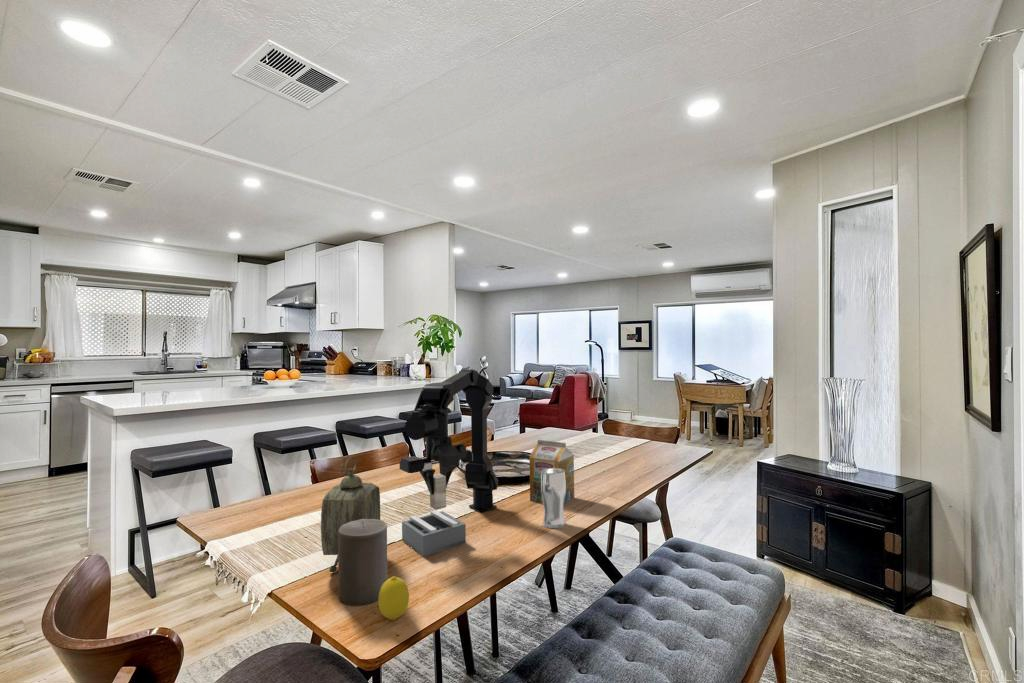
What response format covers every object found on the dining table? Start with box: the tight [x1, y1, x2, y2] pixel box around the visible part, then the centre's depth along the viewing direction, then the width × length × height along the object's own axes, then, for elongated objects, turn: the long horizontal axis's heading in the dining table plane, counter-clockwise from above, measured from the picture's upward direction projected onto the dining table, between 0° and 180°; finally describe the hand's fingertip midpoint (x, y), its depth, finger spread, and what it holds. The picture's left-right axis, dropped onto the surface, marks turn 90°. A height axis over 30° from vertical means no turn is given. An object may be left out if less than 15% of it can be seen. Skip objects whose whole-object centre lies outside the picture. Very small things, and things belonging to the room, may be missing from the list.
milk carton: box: [528, 439, 575, 504], centre depth 153 cm, size 11×11×19 cm
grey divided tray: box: [401, 509, 467, 558], centre depth 121 cm, size 12×12×6 cm
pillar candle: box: [337, 519, 389, 607], centre depth 97 cm, size 10×10×15 cm
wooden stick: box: [429, 473, 447, 511], centre depth 121 cm, size 3×3×8 cm
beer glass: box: [541, 468, 566, 529], centre depth 132 cm, size 7×7×15 cm
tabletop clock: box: [320, 455, 381, 573], centre depth 111 cm, size 14×9×25 cm, turn 178°
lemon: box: [377, 575, 410, 621], centre depth 87 cm, size 6×6×8 cm
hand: (437, 493), depth 121 cm, fingers closed on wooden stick, 3 cm apart
